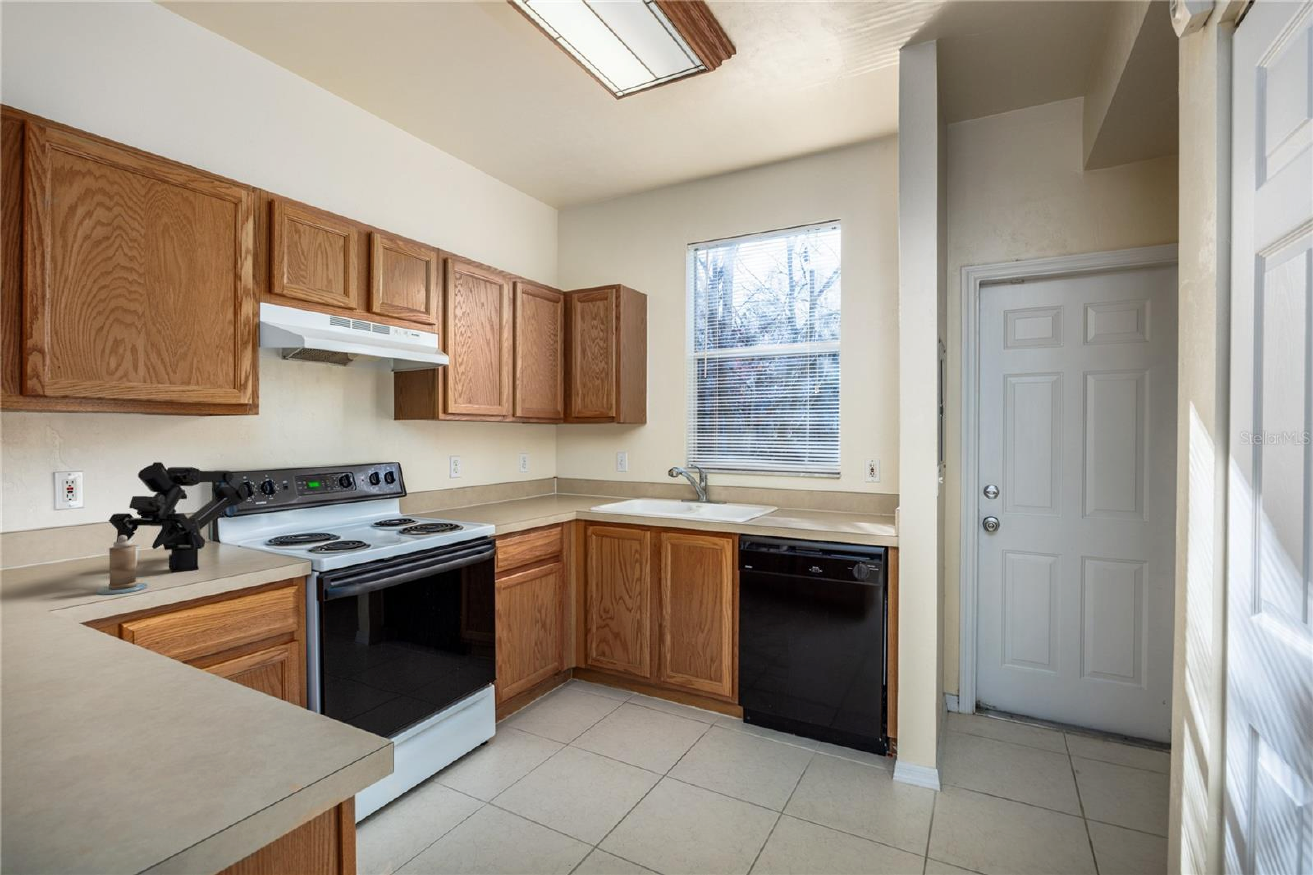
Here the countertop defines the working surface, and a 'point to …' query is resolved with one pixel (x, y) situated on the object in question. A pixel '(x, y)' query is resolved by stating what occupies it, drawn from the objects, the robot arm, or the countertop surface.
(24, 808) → the countertop surface
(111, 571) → the pepper mill
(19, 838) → the countertop surface
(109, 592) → the trivet
